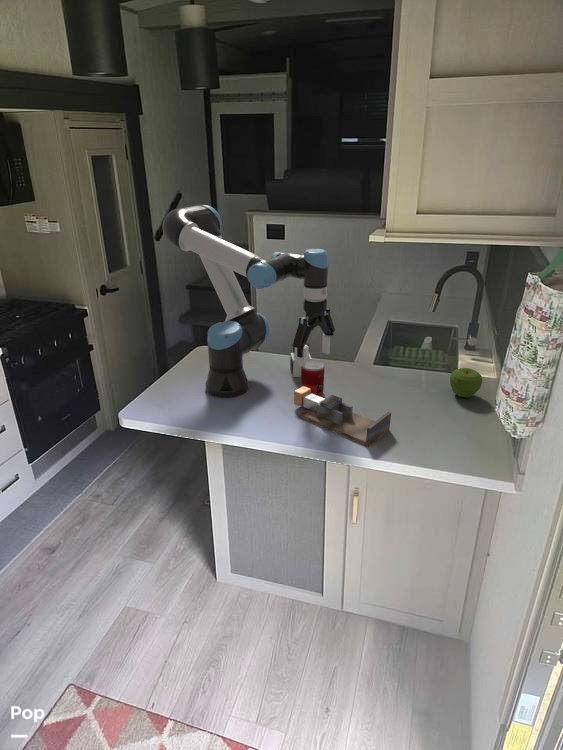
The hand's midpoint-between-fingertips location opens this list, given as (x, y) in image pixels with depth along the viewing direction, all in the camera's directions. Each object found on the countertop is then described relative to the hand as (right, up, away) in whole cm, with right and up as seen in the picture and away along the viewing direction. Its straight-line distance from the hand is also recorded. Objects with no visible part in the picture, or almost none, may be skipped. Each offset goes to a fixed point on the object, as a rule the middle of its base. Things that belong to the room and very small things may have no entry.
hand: (313, 359), depth 175 cm
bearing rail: (+8, -21, -13) cm, 26 cm away
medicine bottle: (-4, -5, +20) cm, 21 cm away
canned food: (0, -12, +6) cm, 13 cm away
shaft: (0, -16, -7) cm, 18 cm away
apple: (+52, -13, +5) cm, 54 cm away
